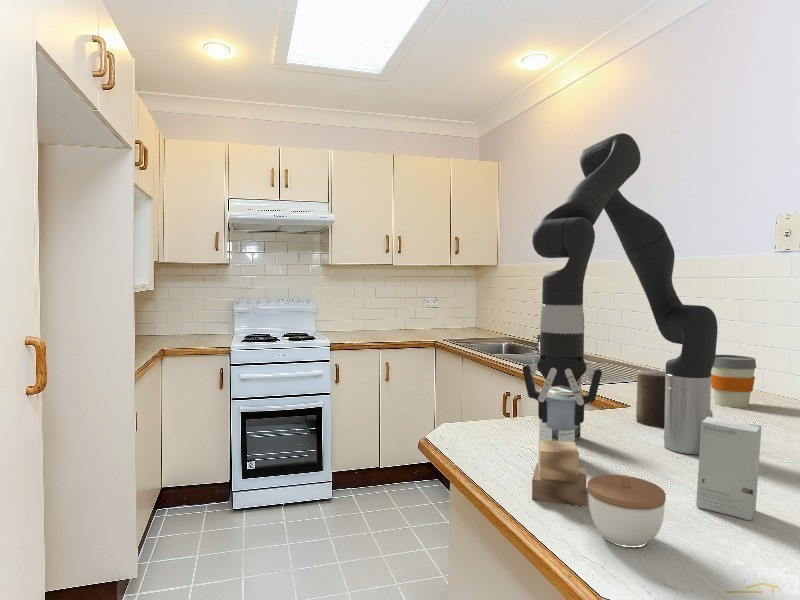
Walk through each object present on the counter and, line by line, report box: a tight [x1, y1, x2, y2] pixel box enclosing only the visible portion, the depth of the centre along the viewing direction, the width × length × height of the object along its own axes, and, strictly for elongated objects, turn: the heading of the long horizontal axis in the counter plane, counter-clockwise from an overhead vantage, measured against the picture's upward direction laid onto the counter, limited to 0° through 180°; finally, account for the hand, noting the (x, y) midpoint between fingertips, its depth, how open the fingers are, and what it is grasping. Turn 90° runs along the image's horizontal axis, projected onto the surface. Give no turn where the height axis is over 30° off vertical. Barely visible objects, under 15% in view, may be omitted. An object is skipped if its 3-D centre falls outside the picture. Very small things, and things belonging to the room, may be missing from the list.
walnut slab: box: [531, 462, 588, 507], centre depth 95 cm, size 9×9×4 cm
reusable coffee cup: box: [711, 354, 757, 409], centre depth 165 cm, size 12×13×15 cm
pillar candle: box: [635, 367, 666, 428], centre depth 144 cm, size 10×10×15 cm
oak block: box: [537, 439, 580, 482], centre depth 95 cm, size 6×6×5 cm
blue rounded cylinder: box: [546, 396, 576, 431], centre depth 95 cm, size 5×5×5 cm
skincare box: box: [695, 416, 762, 521], centre depth 88 cm, size 8×6×15 cm
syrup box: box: [538, 386, 576, 442], centre depth 117 cm, size 6×6×14 cm
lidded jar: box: [586, 474, 666, 546], centre depth 78 cm, size 11×11×9 cm
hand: (560, 422), depth 95 cm, fingers closed on blue rounded cylinder, 5 cm apart
